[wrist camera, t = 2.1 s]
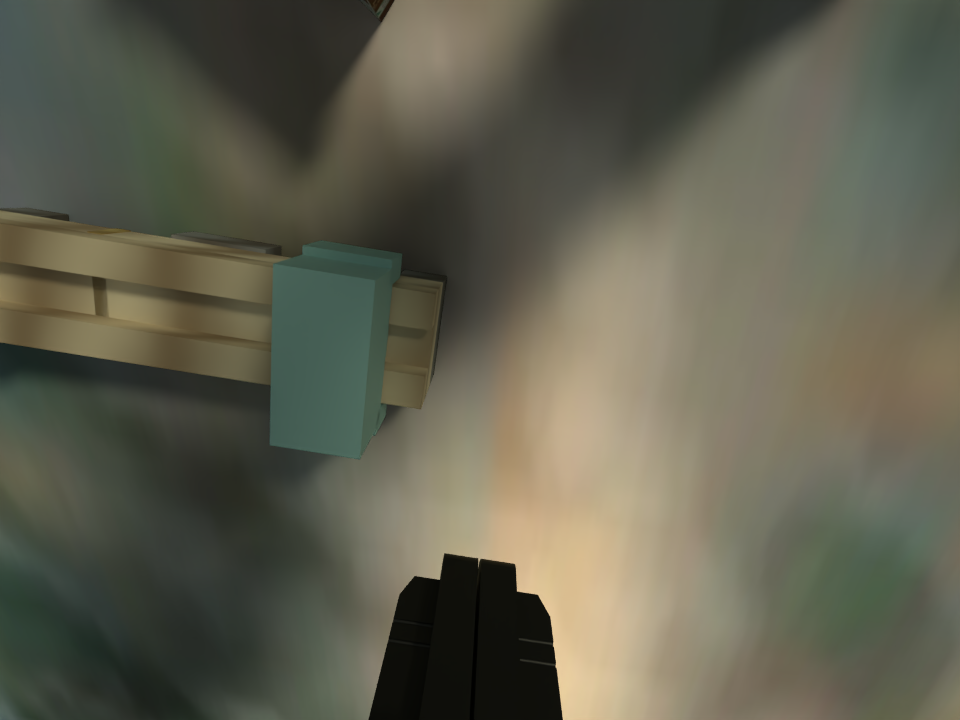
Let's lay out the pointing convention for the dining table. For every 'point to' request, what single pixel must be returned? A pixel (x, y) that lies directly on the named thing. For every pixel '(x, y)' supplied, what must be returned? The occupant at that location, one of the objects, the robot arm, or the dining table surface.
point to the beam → (179, 301)
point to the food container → (378, 7)
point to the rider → (330, 347)
